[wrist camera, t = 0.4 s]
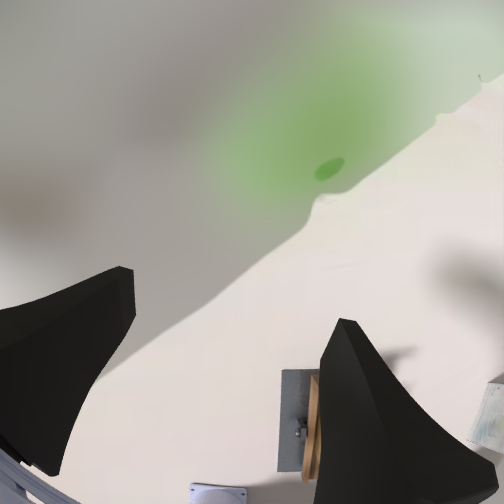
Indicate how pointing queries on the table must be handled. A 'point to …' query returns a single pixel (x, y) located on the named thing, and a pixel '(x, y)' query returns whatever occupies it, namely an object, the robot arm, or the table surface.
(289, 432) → the pivot stand
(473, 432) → the skincare box
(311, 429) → the balance beam
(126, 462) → the table surface
